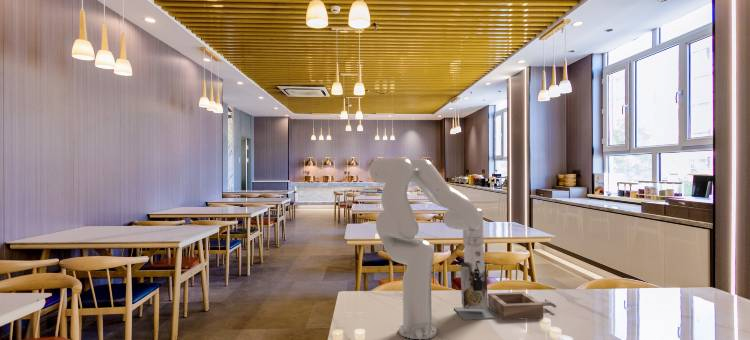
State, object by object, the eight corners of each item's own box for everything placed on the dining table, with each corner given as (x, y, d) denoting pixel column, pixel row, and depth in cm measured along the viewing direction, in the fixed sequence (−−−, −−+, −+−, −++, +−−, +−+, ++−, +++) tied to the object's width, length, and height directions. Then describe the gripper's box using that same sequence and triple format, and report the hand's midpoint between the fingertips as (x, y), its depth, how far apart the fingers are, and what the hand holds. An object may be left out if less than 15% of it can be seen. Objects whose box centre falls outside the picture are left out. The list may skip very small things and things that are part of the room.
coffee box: (485, 303, 153) (484, 261, 154) (488, 309, 147) (487, 265, 147) (461, 303, 154) (460, 261, 154) (463, 309, 148) (462, 265, 148)
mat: (495, 318, 145) (495, 317, 145) (463, 320, 144) (463, 318, 144) (483, 307, 157) (483, 306, 157) (453, 308, 156) (453, 307, 156)
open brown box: (563, 316, 146) (562, 303, 146) (504, 319, 144) (503, 305, 144) (541, 303, 161) (541, 291, 161) (488, 305, 159) (487, 293, 159)
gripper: (491, 244, 142) (492, 294, 142) (474, 236, 160) (475, 280, 160) (471, 245, 142) (472, 294, 142) (456, 237, 159) (457, 281, 159)
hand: (473, 287), depth 151 cm, fingers closed on coffee box, 7 cm apart
